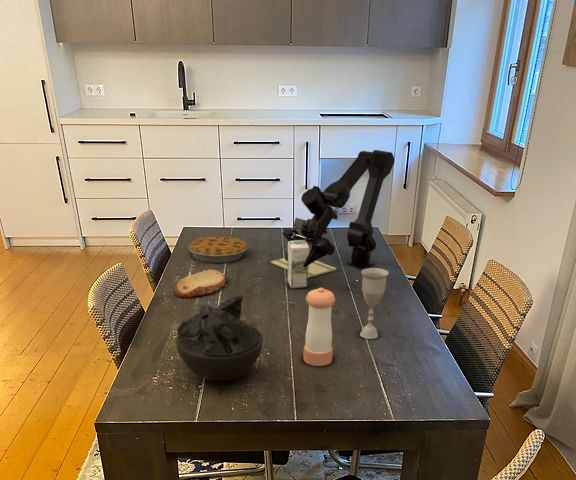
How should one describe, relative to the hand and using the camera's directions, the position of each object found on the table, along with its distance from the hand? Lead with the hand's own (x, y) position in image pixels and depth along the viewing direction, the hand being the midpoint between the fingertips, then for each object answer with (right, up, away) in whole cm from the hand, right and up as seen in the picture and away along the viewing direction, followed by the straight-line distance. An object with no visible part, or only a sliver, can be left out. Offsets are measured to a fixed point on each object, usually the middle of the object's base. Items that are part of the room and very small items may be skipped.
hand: (294, 263), depth 188 cm
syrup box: (+1, -6, +6) cm, 8 cm away
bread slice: (-31, -7, +4) cm, 32 cm away
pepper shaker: (+5, -33, -39) cm, 51 cm away
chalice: (+20, -25, -26) cm, 41 cm away
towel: (+3, +4, +23) cm, 23 cm away
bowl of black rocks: (-18, -37, -47) cm, 62 cm away
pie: (-28, +10, +32) cm, 44 cm away
